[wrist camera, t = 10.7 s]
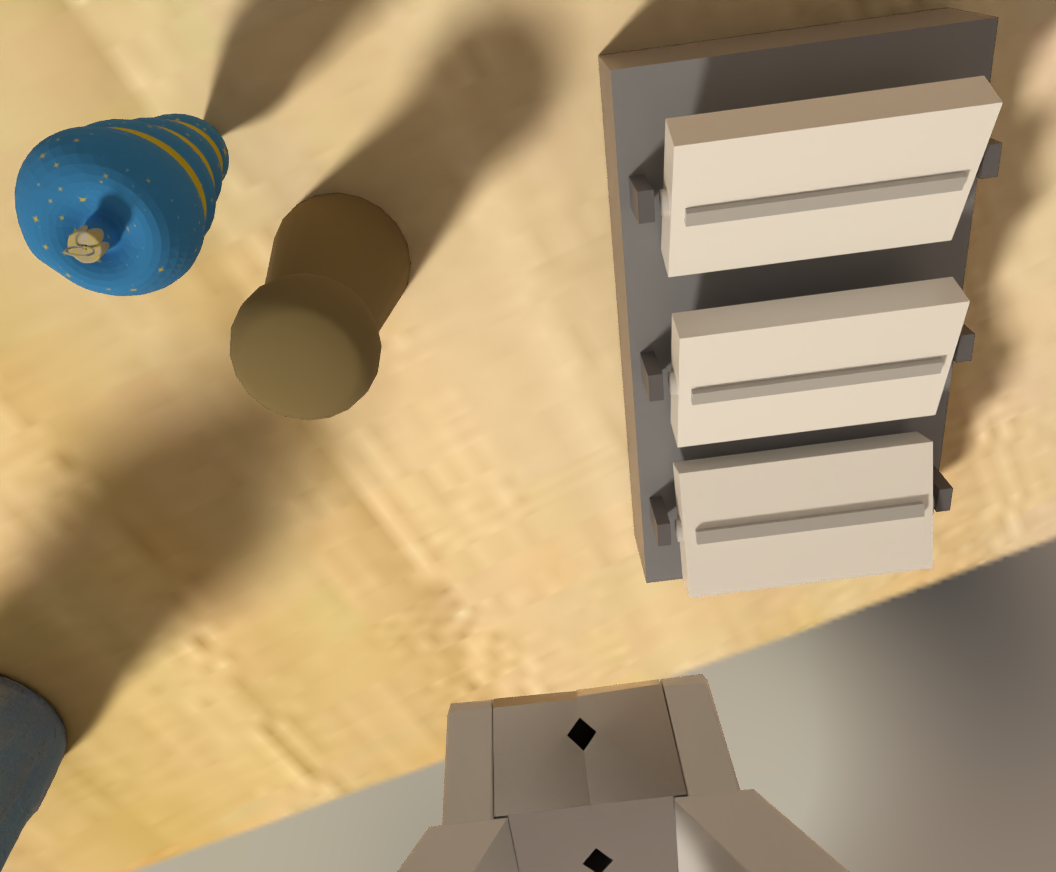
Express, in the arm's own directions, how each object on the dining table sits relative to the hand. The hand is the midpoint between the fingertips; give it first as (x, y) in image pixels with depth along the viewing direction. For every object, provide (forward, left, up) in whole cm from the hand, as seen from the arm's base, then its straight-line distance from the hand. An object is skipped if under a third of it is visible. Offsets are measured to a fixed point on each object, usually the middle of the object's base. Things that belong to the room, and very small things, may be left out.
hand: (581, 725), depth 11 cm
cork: (+4, -8, -31) cm, 33 cm away
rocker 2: (+9, +11, -25) cm, 29 cm away
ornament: (-2, -12, -31) cm, 34 cm away
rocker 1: (+1, +11, -25) cm, 27 cm away
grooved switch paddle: (+16, +11, -25) cm, 32 cm away
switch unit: (+9, +11, -31) cm, 34 cm away
